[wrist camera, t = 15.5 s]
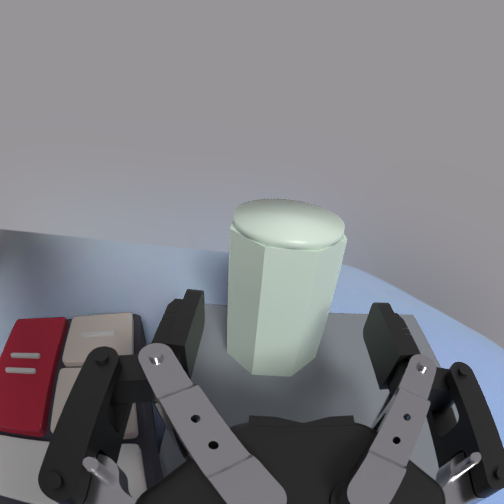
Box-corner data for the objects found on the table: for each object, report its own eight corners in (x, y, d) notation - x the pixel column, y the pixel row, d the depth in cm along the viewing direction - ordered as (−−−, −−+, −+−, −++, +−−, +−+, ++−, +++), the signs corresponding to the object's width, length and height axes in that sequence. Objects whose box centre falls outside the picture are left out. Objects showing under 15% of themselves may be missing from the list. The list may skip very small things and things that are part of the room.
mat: (146, 513, 9) (144, 512, 9) (202, 306, 25) (202, 303, 25) (480, 481, 9) (483, 479, 8) (411, 317, 24) (413, 314, 24)
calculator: (138, 304, 19) (161, 519, 7) (148, 347, 21) (179, 532, 8) (13, 312, 16) (-41, 484, 3) (32, 353, 18) (5, 513, 5)
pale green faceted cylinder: (223, 372, 18) (225, 234, 13) (233, 312, 24) (238, 195, 19) (318, 377, 18) (358, 246, 13) (309, 318, 24) (332, 204, 19)
